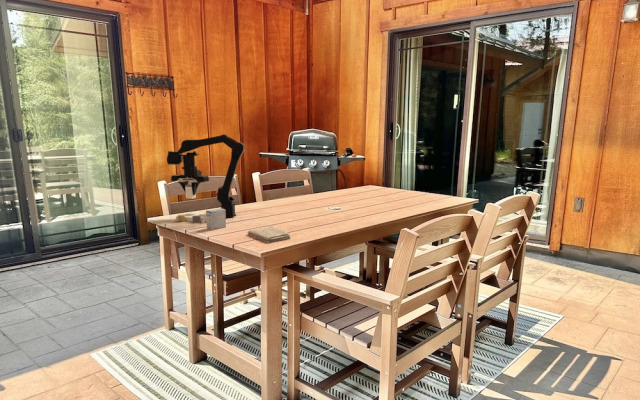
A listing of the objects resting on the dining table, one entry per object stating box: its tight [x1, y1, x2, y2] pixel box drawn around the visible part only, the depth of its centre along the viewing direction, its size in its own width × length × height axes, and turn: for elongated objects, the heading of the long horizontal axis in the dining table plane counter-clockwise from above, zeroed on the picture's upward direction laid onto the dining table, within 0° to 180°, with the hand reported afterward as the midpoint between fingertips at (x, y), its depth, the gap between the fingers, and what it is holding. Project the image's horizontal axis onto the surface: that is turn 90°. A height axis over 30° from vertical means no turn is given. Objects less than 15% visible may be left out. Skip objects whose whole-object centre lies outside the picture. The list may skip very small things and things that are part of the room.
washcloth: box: [247, 226, 291, 244], centre depth 179 cm, size 12×18×3 cm, turn 39°
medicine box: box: [205, 207, 227, 231], centre depth 193 cm, size 8×4×9 cm, turn 141°
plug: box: [185, 183, 197, 200], centre depth 215 cm, size 4×4×7 cm
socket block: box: [175, 212, 206, 223], centre depth 211 cm, size 15×12×3 cm
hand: (190, 195), depth 215 cm, fingers closed on plug, 4 cm apart
